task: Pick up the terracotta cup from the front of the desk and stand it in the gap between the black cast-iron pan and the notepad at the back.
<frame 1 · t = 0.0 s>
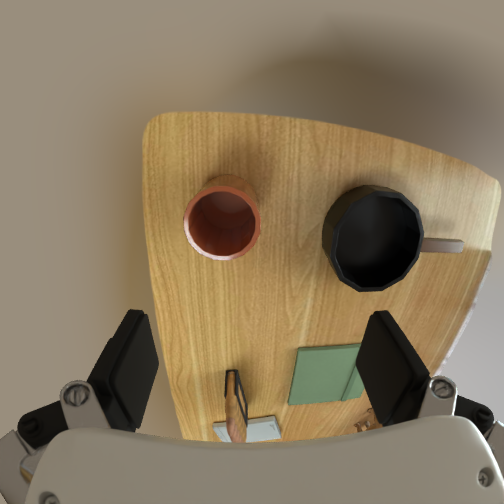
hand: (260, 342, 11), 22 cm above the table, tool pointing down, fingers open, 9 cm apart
lion figurine: (369, 416, 49), on the table
ammunition clip: (237, 388, 42), on the table
pan: (367, 232, 32), on the table
hard drive: (247, 427, 48), on the table
notepad: (332, 375, 42), on the table
cup: (227, 203, 30), on the table
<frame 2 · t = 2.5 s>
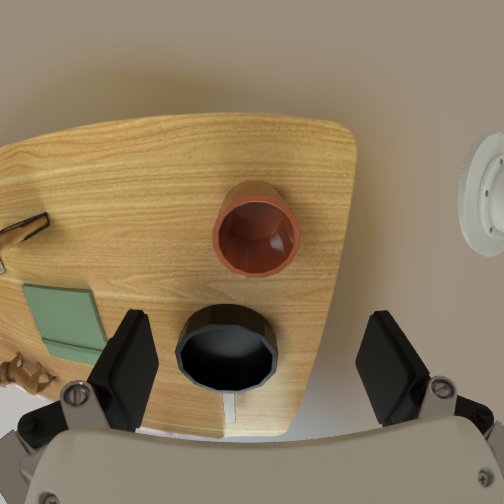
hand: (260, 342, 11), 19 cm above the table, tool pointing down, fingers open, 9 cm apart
lion figurine: (31, 364, 39), on the table
ammunition clip: (26, 226, 28), on the table
pan: (227, 341, 34), on the table
notepad: (67, 326, 34), on the table
cup: (253, 211, 28), on the table
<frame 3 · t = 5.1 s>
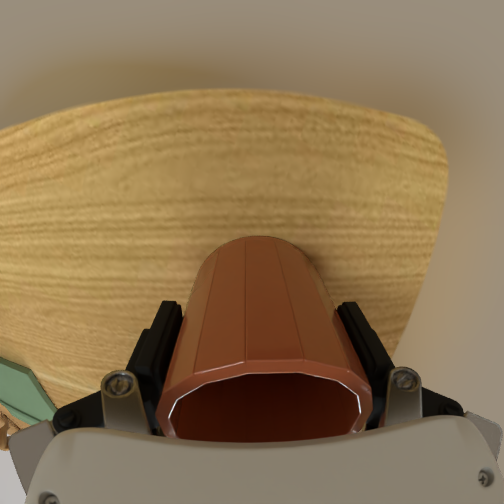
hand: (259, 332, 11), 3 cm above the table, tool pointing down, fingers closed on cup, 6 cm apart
notepad: (20, 395, 20), on the table
cup: (257, 294, 14), on the table, touching gripper
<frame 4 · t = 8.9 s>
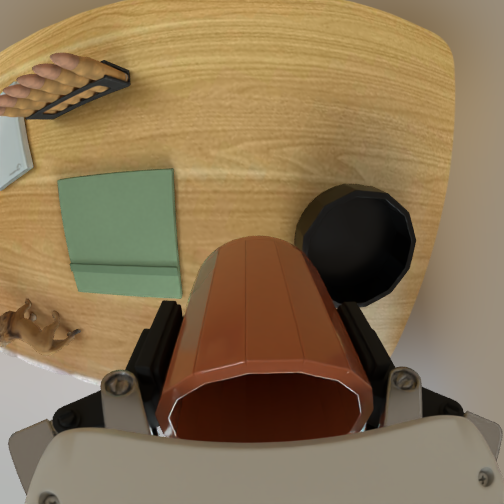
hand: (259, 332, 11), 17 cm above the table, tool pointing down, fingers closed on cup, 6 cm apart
lion figurine: (44, 316, 32), on the table
ammunition clip: (87, 95, 21), on the table
pan: (349, 239, 28), on the table
hard drive: (9, 136, 22), on the table
notepad: (117, 236, 27), on the table
cup: (257, 294, 14), point 14 cm above the table, touching gripper
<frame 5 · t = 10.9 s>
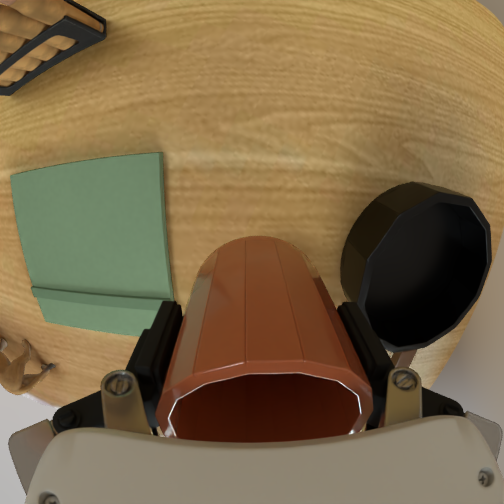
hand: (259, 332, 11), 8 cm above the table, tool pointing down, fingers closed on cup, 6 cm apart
lion figurine: (15, 344, 23), on the table
ammunition clip: (51, 58, 12), on the table
pan: (409, 258, 19), on the table
notepad: (86, 253, 18), on the table
cup: (257, 295, 14), point 5 cm above the table, touching gripper
when the fingers open (3 cm above the table, at t = 12.7 s): cup stays where it is, on the table.
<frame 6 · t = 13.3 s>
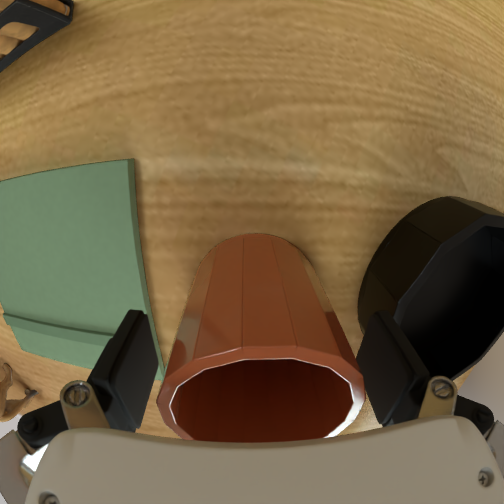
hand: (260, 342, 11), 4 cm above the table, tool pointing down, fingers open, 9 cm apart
ammunition clip: (14, 52, 8), on the table
pan: (436, 285, 15), on the table
notepad: (54, 280, 14), on the table
cup: (254, 290, 15), on the table
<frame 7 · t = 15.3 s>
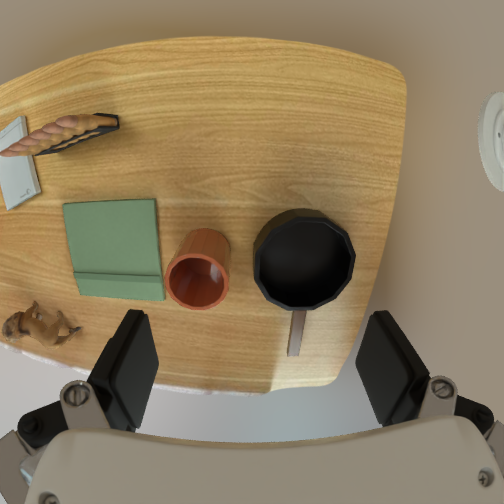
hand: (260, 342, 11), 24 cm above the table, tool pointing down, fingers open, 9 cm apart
lion figurine: (49, 316, 38), on the table
ammunition clip: (84, 134, 28), on the table
pan: (299, 254, 35), on the table
hard drive: (17, 163, 28), on the table
notepad: (112, 251, 34), on the table
cup: (205, 252, 35), on the table
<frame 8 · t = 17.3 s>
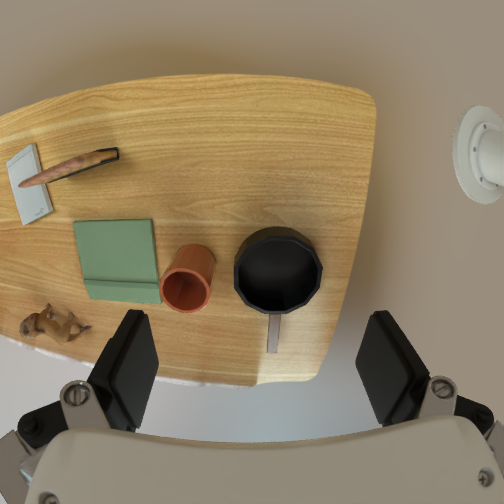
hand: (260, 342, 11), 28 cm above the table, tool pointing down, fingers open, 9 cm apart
lion figurine: (61, 316, 45), on the table
ammunition clip: (89, 162, 34), on the table
pan: (275, 265, 41), on the table
hard drive: (30, 184, 34), on the table
notepad: (116, 261, 40), on the table
cup: (194, 264, 41), on the table
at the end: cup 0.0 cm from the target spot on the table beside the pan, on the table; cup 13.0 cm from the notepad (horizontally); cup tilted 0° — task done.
